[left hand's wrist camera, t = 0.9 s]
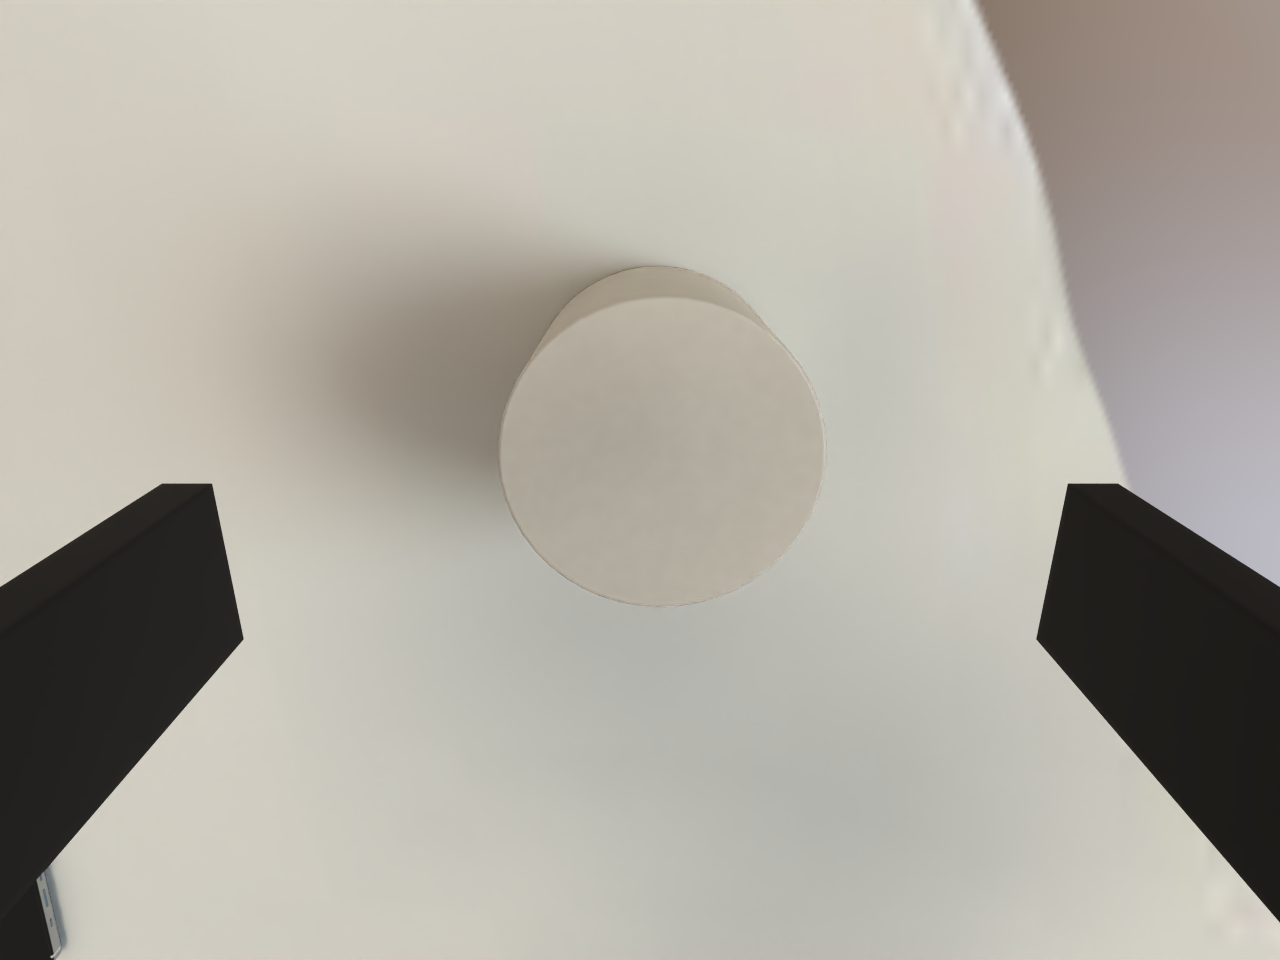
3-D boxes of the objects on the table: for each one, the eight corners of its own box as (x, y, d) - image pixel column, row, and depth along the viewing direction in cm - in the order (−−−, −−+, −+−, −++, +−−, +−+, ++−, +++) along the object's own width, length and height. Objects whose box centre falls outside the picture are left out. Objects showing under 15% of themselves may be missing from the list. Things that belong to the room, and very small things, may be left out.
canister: (660, 208, 24) (668, 218, 18) (831, 395, 26) (894, 466, 20) (481, 391, 26) (429, 460, 20) (652, 551, 28) (657, 662, 22)
